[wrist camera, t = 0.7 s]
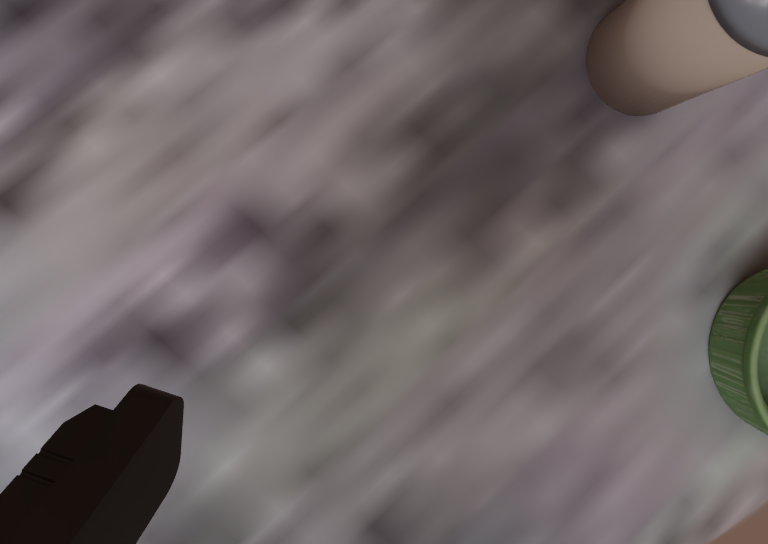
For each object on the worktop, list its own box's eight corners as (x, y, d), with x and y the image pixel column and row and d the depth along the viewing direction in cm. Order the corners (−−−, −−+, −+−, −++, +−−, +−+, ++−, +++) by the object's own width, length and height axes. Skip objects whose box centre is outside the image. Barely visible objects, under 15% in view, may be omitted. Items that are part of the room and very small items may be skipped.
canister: (581, 3, 31) (719, -128, 20) (692, 1, 32) (886, -129, 21) (586, 120, 31) (725, 52, 20) (696, 115, 32) (890, 47, 21)
